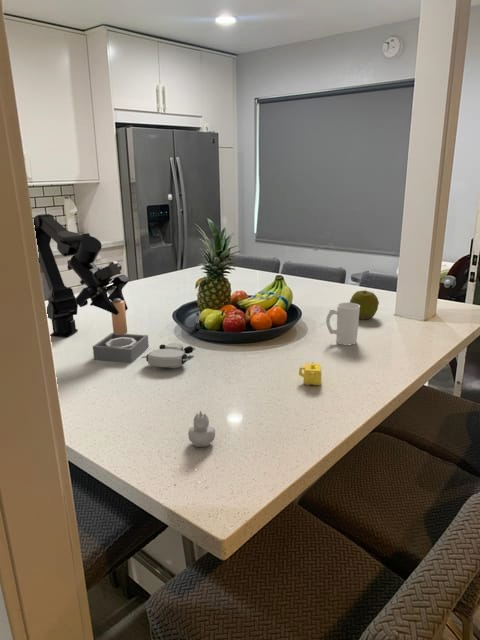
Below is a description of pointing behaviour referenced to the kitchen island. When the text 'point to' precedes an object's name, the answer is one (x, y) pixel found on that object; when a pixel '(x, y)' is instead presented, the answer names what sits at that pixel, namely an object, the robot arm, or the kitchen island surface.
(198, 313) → the caliper
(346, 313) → the mug
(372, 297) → the apple
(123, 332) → the orange cylinder
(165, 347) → the robot toy
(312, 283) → the kitchen island surface
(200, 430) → the grey potted plant
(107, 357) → the housing
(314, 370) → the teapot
